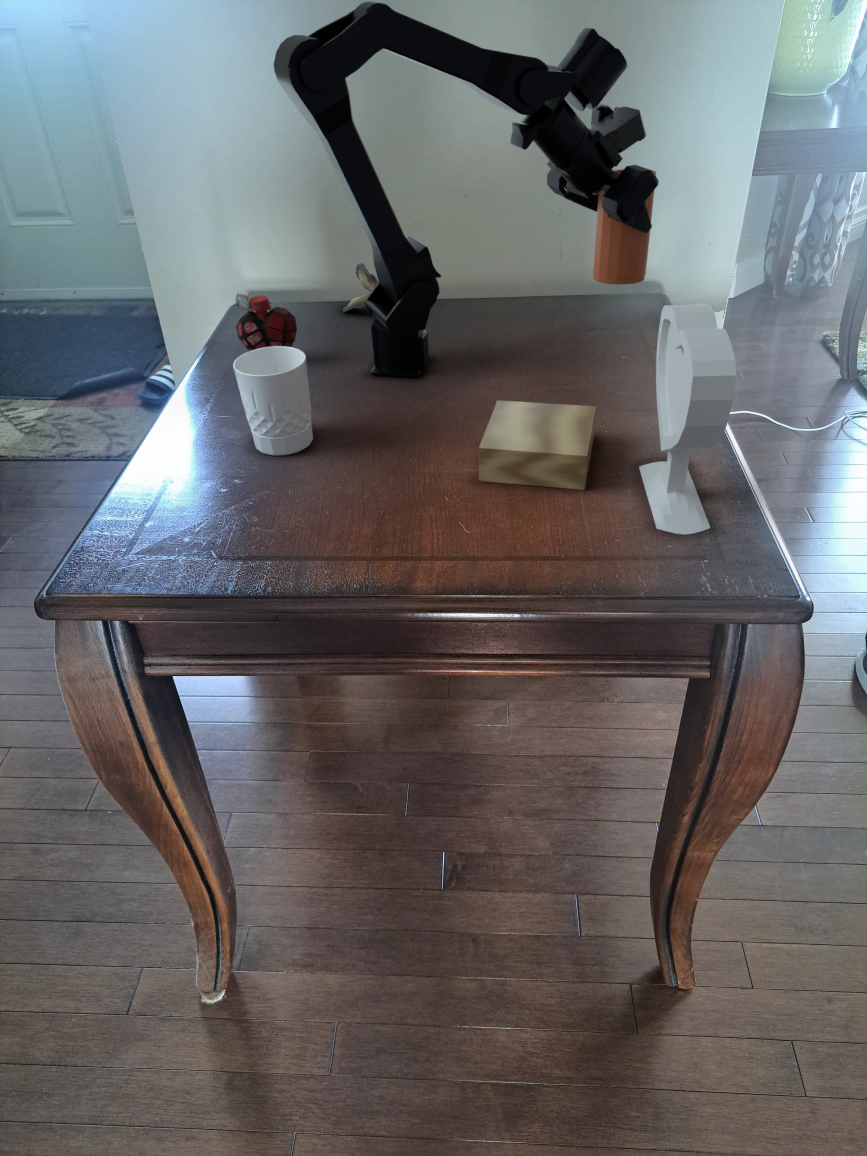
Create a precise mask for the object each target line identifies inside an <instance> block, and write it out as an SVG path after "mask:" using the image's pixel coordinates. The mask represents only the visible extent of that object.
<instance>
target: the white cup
mask: <svg viewBox="0 0 867 1156" xmlns="http://www.w3.org/2000/svg"><path fill="white" fill-rule="evenodd" d="M307 363H308V362H307V356H306V354H305V352H304V351H302V350H301V349H299V348H296V347H293V346H292V347H286V346H271V347H264V348H259V349H255V350H252V351H249V350H248V351H247V352H244V353H243V354H241V355H238V357H236V358H235V359H234V360H233V363H232V367H233V368H232V369H233V371H234V376H235V380H236V383H237V387H238V392H239V393H240V394H239V395H240V398H241V403H242V406H243V408H244V413H245V417H246V419H247V423H248V424H247V425H248V426H249V428H250V432H251V434H252V439H253V443H254V446H255V449H256V450H258V451H259V452H260V453H262V454H265V455H269V456H288V455H292V454H296V453H299V452H301V451H303V450H305V449H306V448H308V447H309V446H310V445H311V443H312V442H313V440H314V434H313V426H312V406H311V404H312V403H311V392H310V383H309V373H308V364H307Z"/></svg>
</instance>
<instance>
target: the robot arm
mask: <svg viewBox="0 0 867 1156" xmlns="http://www.w3.org/2000/svg"><path fill="white" fill-rule="evenodd" d="M382 50H383V51H386V52H388V53H390V54H393V55H395V56H398V57H400V58H403V59H405V60H408V61H409V62H410V61H411V62H413V63H415V64H418V65H420V66H423V67H425V68H428V69H430V70H433V71H436V72H438V73H440V74H443V75H445V76H448V77H451V78H453V79H455V80H458V81H460V82H462V83H463V84H465V85H466V86H468V87H469V88H470V89H471V90H472V91H473V92H475V93H476V94H477V95H479V96H481V97H482V98H484V99H485V100H486V101H487V102H489V103H491V104H492V105H494V106H495V107H497V108H500V109H502V110H506V111H510V112H513V113H515V114H519V115H522V116H524V117H523V118H522V119H521V120H519V121H513V122H512V123H511V130H512V131H511V134H510V145H511V146H513V147H516V148H519V149H521V150H523V151H526V150H528V148H530V146H531V145H532V144H534V145H535V146H536V148H537V149H539V151H540V152H541V153H542V154H543V156H544V157H545V158H546V159H547V160H548V162H547V163H546V165H547V167H549V171H548V172H547V175H546V185H547V186H548V187H549V188H550V190H551V191H552V192H553V193H554V194H556V195H558V196H561V197H563V198H564V199H565V200H567V201H570V202H572V203H575V204H577V205H579V206H581V207H584V208H586V209H588V210H591V211H593V212H596V213H597V209H598V195H599V192H600V190H601V189H604V190H606V193H605V194H604V195H603V198H602V208H603V209H604V211H605V212H606V213H607V214H608V217H609V218H611V219H614V220H616V221H618V222H621V223H623V224H625V225H628V226H630V227H633V228H635V229H637V230H640V231H642V232H644V233H648V232H649V230H650V231H651V229H652V228H653V225H652V220H651V221H650V218H649V215H648V211H647V208H646V204H645V201H646V200H647V198H648V197H649V196H650V195H651V193H652V192H653V191H654V192H655V190H656V189H657V187H658V186H659V178H658V177H657V175H656V176H655V175H654V173H653V172H652V171H651V170H652V169H650V168H646V167H644V166H641V165H637V164H632V165H626V166H625V167H624V168H623V169H624V170H623V171H622V172H621V173H619V172H617V171H614V170H613V169H614V168H615V167H616V168H617V167H618V165H619V164H620V163H621V162H622V161H623V159H624V158H623V157H622V156H621V153H623V152H624V151H626V150H627V149H629V148H631V147H632V146H633V145H635V144H636V143H638V142H642V141H643V140H644V139H645V138H646V137H647V133H646V129H645V124H644V121H643V117H642V114H641V110H640V109H638V108H632V107H629V106H621V107H619V106H615V107H613V109H612V108H611V107H610V106H609V105H606V104H602V103H601V102H602V101H604V98H605V97H606V96H607V94H608V93H610V90H612V88H613V87H614V85H615V84H616V83H617V81H618V80H619V79H620V78H621V76H622V75H623V74H624V72H625V71H626V69H627V68H628V62H627V59H626V58H625V56H624V53H622V51H621V50H620V48H618V47H615V46H614V45H613V44H612V43H611V42H610V41H609V40H607V39H606V38H604V37H603V36H602V35H599V33H598V32H597V30H596V29H595V28H591V27H583V29H582V30H581V31H580V33H579V34H578V36H577V37H576V39H575V42H574V43H573V45H572V46H571V48H570V49H569V50H568V52H567V53H566V54H565V55H564V57H563V58H562V59H561V60H560V62H559V64H558V65H557V66H556V65H551V64H546V62H544V60H543V61H542V59H541V58H538V57H534V56H528V55H524V54H523V55H522V54H517V53H512V52H507V51H501V50H495V49H490V48H483V47H482V46H481V47H480V46H478V45H476V44H473V43H471V42H469V41H466V40H464V39H462V38H459V37H457V36H455V35H453V34H450V33H448V32H446V31H443V30H440V29H438V28H437V27H434V26H431V25H428V24H426V23H424V22H421V21H419V20H417V19H414V18H413V17H410V16H408V15H405V14H403V13H401V12H398V11H395V10H394V9H393V8H392V7H391V6H390V5H388V4H386V3H383V2H377V1H376V2H375V1H369V0H368V1H364V2H361V3H360V4H359V5H357V6H356V8H354V9H352V10H351V11H350V12H349V13H347V14H345V15H343V16H341V17H340V18H337V19H335V20H333V21H331V22H330V23H328V24H325V25H323V26H322V27H319V28H317V29H316V30H315V31H313V32H312V33H310V34H309V35H304V34H294V35H290V36H288V37H286V38H285V39H284V40H283V41H282V42H281V43H280V44H279V46H278V47H277V49H276V51H275V56H274V61H273V71H274V74H275V77H276V79H277V82H278V84H279V85H280V86H281V88H282V89H283V91H284V92H285V93H286V95H287V96H288V97H289V99H290V101H291V102H292V103H293V105H294V106H295V107H296V109H297V111H299V113H300V114H301V115H302V117H303V118H304V119H305V121H306V122H307V123H308V124H309V125H310V127H311V128H312V129H313V130H314V132H315V133H316V135H317V136H318V138H319V140H320V142H321V143H322V147H323V149H324V150H325V152H326V154H327V156H328V159H329V161H330V163H331V165H332V166H333V169H334V171H335V173H336V175H337V177H338V179H339V181H340V183H341V185H342V187H343V190H344V192H345V193H346V195H347V197H348V198H347V199H349V202H350V204H351V206H352V208H353V210H354V212H355V215H356V217H357V218H358V220H359V222H360V224H361V227H362V228H363V231H364V233H365V235H366V237H367V239H368V241H369V243H370V246H371V250H372V260H373V267H374V270H375V273H376V276H377V277H376V278H377V281H378V283H377V284H376V286H375V287H374V288H373V290H372V291H371V292H370V291H369V293H370V294H369V293H368V294H369V295H368V296H367V298H366V299H365V301H364V303H365V305H366V307H365V308H366V310H367V312H368V314H369V315H370V317H373V318H374V320H373V321H372V322H371V324H370V334H371V340H372V352H373V363H374V365H373V366H372V368H371V370H370V374H371V375H372V376H386V377H401V378H418V377H419V376H420V374H421V372H422V371H423V369H424V368H426V365H427V364H428V362H429V361H430V349H429V348H430V347H429V333H428V331H427V330H426V327H427V324H428V321H429V317H430V313H431V310H432V308H433V307H434V305H435V304H436V302H437V300H438V297H439V295H440V292H441V291H440V284H439V280H438V279H439V278H441V277H442V274H441V273H439V272H438V271H437V269H436V268H435V265H434V264H433V259H432V255H431V253H430V249H429V247H428V246H426V245H425V244H423V243H422V242H421V241H419V240H418V239H417V238H415V237H413V236H412V235H408V237H406V236H405V233H404V231H403V229H402V226H401V224H400V222H399V220H398V218H397V215H396V214H395V213H396V212H395V211H394V209H393V206H392V204H391V202H390V200H389V198H388V196H387V193H386V191H385V188H384V187H383V184H382V182H381V179H380V177H379V175H378V173H377V171H376V169H375V167H374V164H373V162H372V160H371V158H370V155H369V153H368V150H367V149H366V147H365V145H364V143H363V142H364V141H363V140H362V137H361V135H360V133H359V131H358V128H357V127H356V124H355V122H354V117H353V109H352V101H351V94H350V89H349V85H348V82H347V79H346V78H348V77H350V76H351V75H352V74H354V73H356V72H357V71H358V70H360V69H361V68H362V67H363V66H364V65H365V64H366V63H367V62H368V61H369V60H371V58H372V57H374V56H375V55H376V54H377V53H378V52H381V51H382ZM572 107H573V108H574V109H575V110H577V111H579V112H584V111H585V110H586V108H587V109H590V110H591V120H590V127H591V128H588V127H587V125H586V124H585V123H584V122H583V120H582V119H581V118H580V116H578V114H577V113H576V112H575V110H574V109H573V108H572Z"/></svg>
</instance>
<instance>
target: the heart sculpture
mask: <svg viewBox="0 0 867 1156" xmlns="http://www.w3.org/2000/svg"><path fill="white" fill-rule="evenodd" d="M717 324H718V323H717V317H716V312H715V310H714V309H713V307H712V305H709V304H707V303H694V304H692V303H690V304H665V305H664V306H663V308H662V309H661V312H660V320H659V326H658V332H657V333H658V335H657V345H656V356H655V360H656V361H655V364H656V365H655V375H656V376H655V389H656V390H655V391H656V392H655V394H656V407H657V408H656V409H657V410H656V411H657V420H658V421H657V422H658V431H659V445H660V452H667V458H666V461H660V460H659V461H654V462H650V463H646V464H643V465H640V466H638V469H639V472H640V476H641V479H642V483H643V486H644V491H645V493H646V496H647V500H648V503H649V507H650V510H651V513H652V518H653V521H654V524H655V528H656V529H657V530H660V531H664V532H667V533H671V534H675V535H676V534H677V535H685V536H686V535H693V534H697V533H701V532H704V531H706V530H709V529H711V526H710V522H709V520H708V517H707V514H706V512H705V510H704V507H703V504H702V502H701V499H700V497H699V494H698V491H697V489H696V486H695V483H694V481H693V478H692V476H691V473H690V470H689V463H690V457H691V452H694V451H696V452H697V451H700V450H705V449H711V448H712V447H714V446H715V445H717V444H718V443H719V441H720V439H721V438H722V436H723V433H724V432H725V430H726V428H727V426H728V423H729V418H730V415H731V410H732V406H733V403H734V395H735V390H736V389H735V388H736V382H737V363H736V357H735V353H734V348H733V345H732V342H731V339H730V338H731V337H730V336H729V333H728V332H727V330H726V328H718V325H717Z"/></svg>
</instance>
